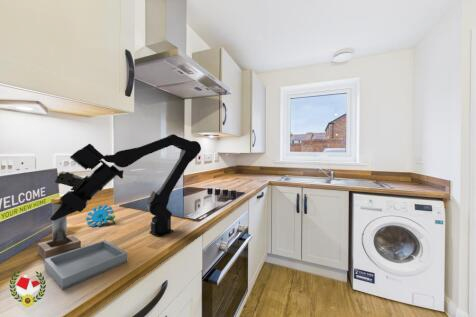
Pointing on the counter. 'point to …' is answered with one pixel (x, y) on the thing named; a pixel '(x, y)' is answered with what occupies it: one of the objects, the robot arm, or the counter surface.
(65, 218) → the steel pin
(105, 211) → the gear
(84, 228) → the counter surface
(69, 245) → the collar block
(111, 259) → the tray
